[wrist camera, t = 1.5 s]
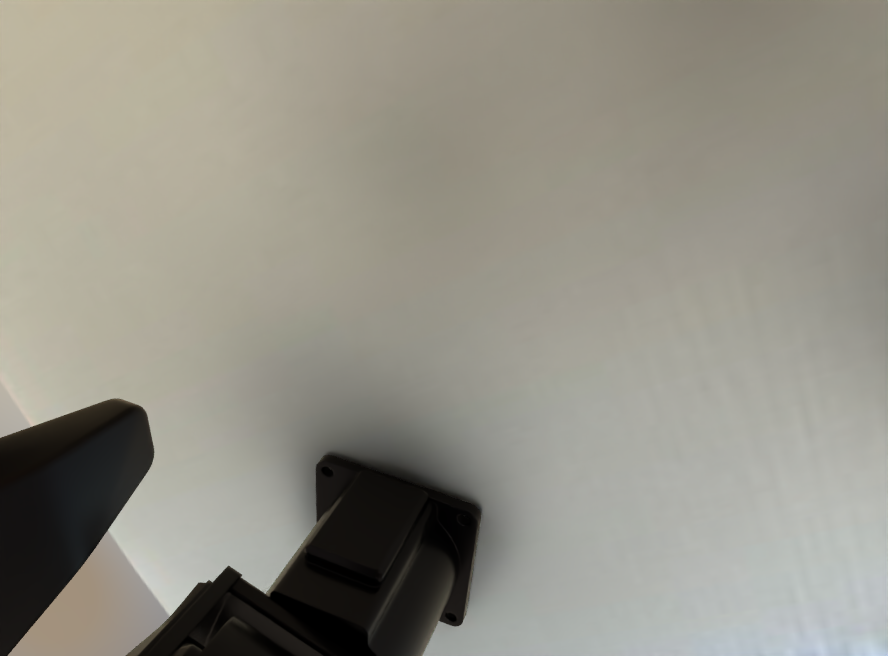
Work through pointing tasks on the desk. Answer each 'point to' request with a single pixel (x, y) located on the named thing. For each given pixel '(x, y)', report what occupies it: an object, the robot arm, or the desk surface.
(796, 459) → the desk surface
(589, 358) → the desk surface
